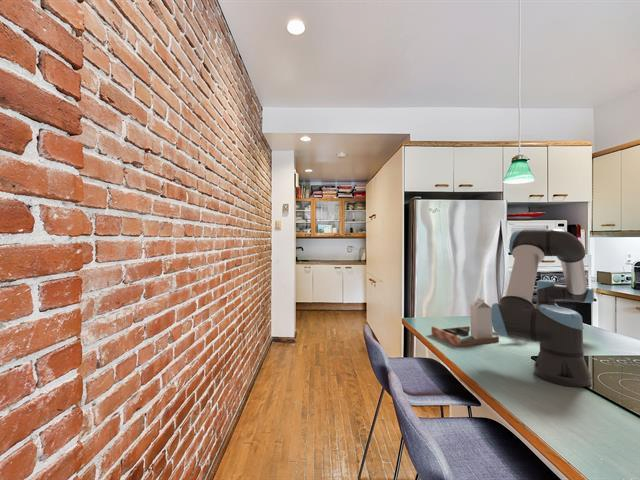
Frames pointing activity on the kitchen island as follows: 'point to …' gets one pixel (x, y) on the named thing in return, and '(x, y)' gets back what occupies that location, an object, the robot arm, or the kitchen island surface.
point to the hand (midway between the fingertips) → (497, 315)
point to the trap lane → (452, 337)
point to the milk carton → (481, 319)
